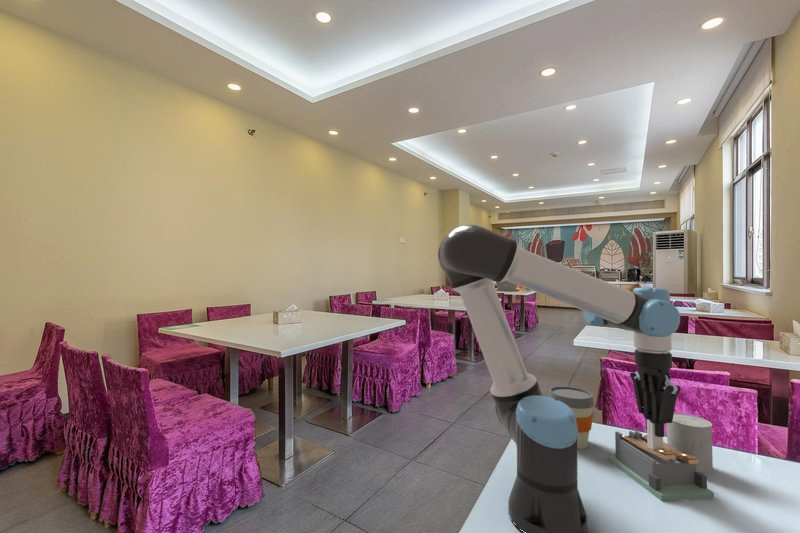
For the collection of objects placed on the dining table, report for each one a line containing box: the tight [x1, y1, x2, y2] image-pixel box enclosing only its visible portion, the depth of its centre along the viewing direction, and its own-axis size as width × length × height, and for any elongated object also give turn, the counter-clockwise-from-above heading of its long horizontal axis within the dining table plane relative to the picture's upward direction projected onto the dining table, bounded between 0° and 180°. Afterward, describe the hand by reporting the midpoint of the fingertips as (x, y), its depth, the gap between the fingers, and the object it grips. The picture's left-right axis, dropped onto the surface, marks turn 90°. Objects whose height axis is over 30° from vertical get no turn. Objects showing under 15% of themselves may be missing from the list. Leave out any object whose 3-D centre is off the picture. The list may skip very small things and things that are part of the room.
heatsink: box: [607, 430, 715, 502], centre depth 89 cm, size 13×18×8 cm
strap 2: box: [642, 434, 699, 464], centre depth 89 cm, size 3×15×2 cm, turn 5°
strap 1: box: [623, 435, 676, 459], centre depth 89 cm, size 3×15×2 cm, turn 5°
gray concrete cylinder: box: [666, 412, 714, 477], centre depth 94 cm, size 10×10×12 cm
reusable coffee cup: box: [548, 385, 595, 450], centre depth 108 cm, size 13×13×15 cm
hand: (655, 447), depth 86 cm, fingers closed
